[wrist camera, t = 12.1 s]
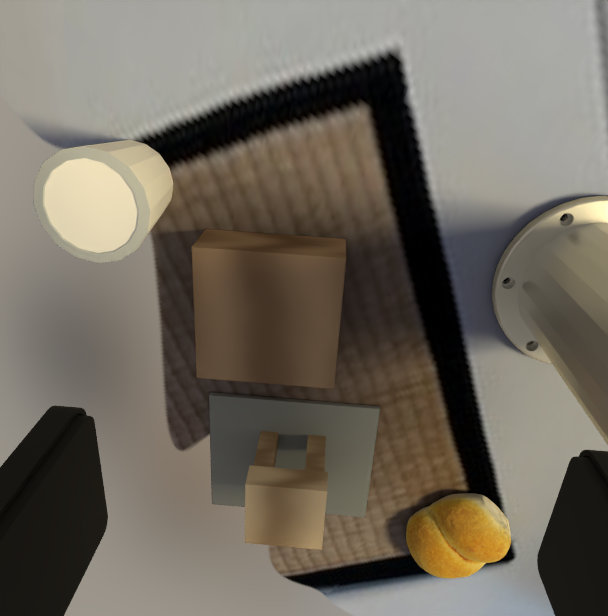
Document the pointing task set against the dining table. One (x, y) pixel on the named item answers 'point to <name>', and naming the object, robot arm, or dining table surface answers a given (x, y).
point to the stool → (286, 497)
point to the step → (267, 307)
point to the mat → (293, 445)
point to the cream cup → (102, 198)
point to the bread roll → (458, 535)
